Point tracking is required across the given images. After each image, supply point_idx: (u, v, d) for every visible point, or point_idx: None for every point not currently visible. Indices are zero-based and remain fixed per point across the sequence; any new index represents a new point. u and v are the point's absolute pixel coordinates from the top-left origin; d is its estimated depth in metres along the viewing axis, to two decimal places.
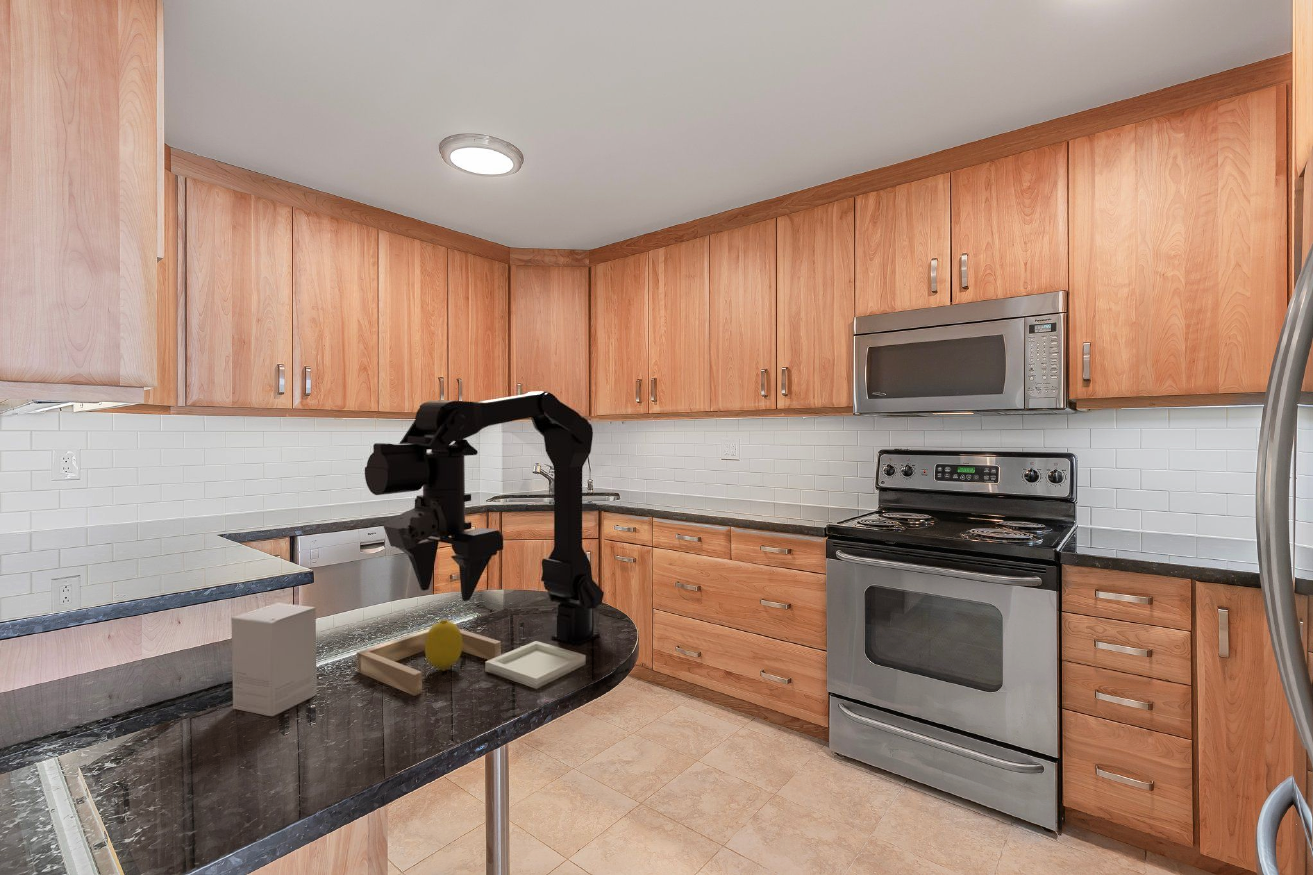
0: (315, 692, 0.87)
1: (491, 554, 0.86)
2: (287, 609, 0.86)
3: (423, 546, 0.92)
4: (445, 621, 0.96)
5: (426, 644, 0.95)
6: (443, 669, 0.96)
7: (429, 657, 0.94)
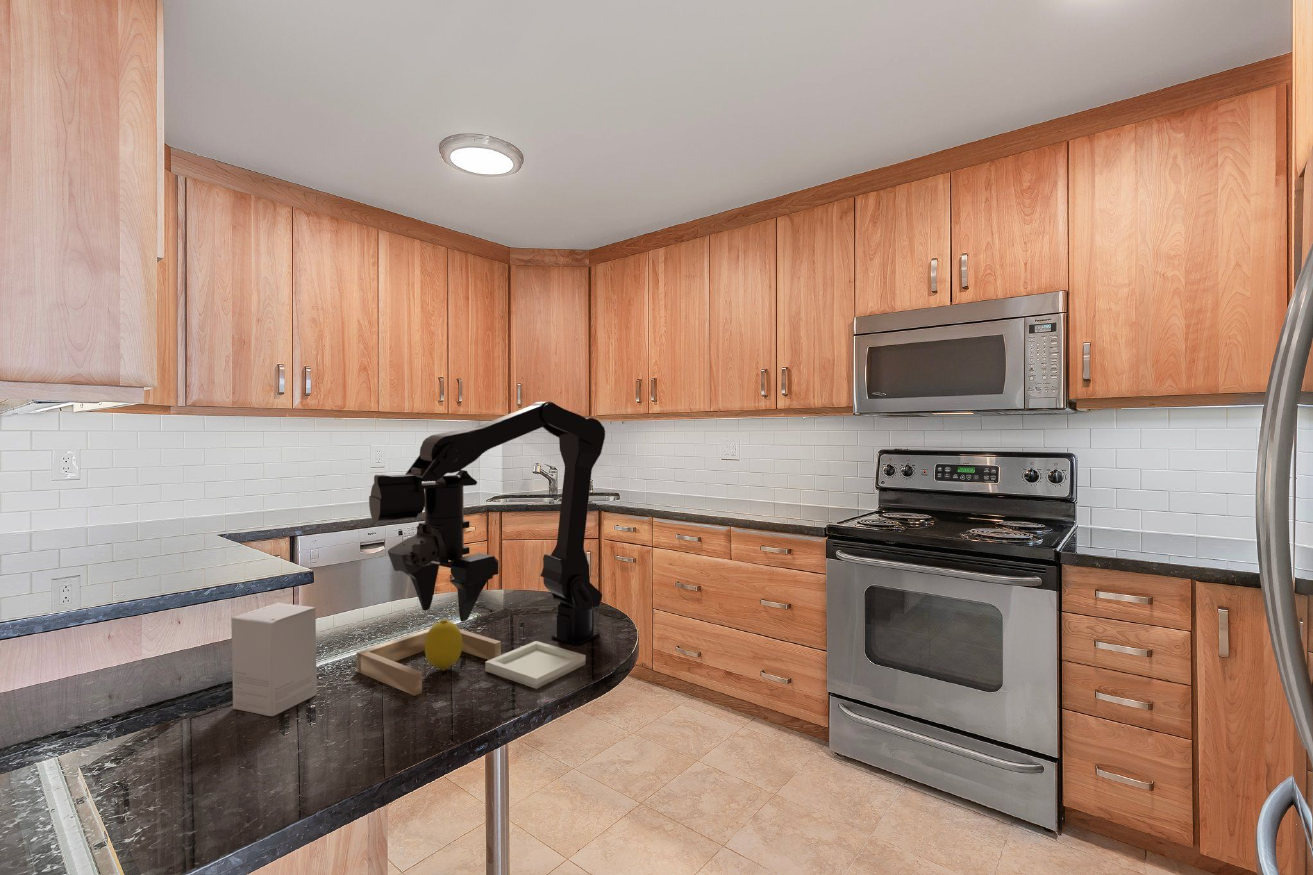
0: (315, 692, 0.87)
1: (487, 578, 0.93)
2: (287, 609, 0.86)
3: (425, 569, 0.99)
4: (445, 621, 0.96)
5: (426, 644, 0.95)
6: (443, 669, 0.96)
7: (429, 657, 0.94)
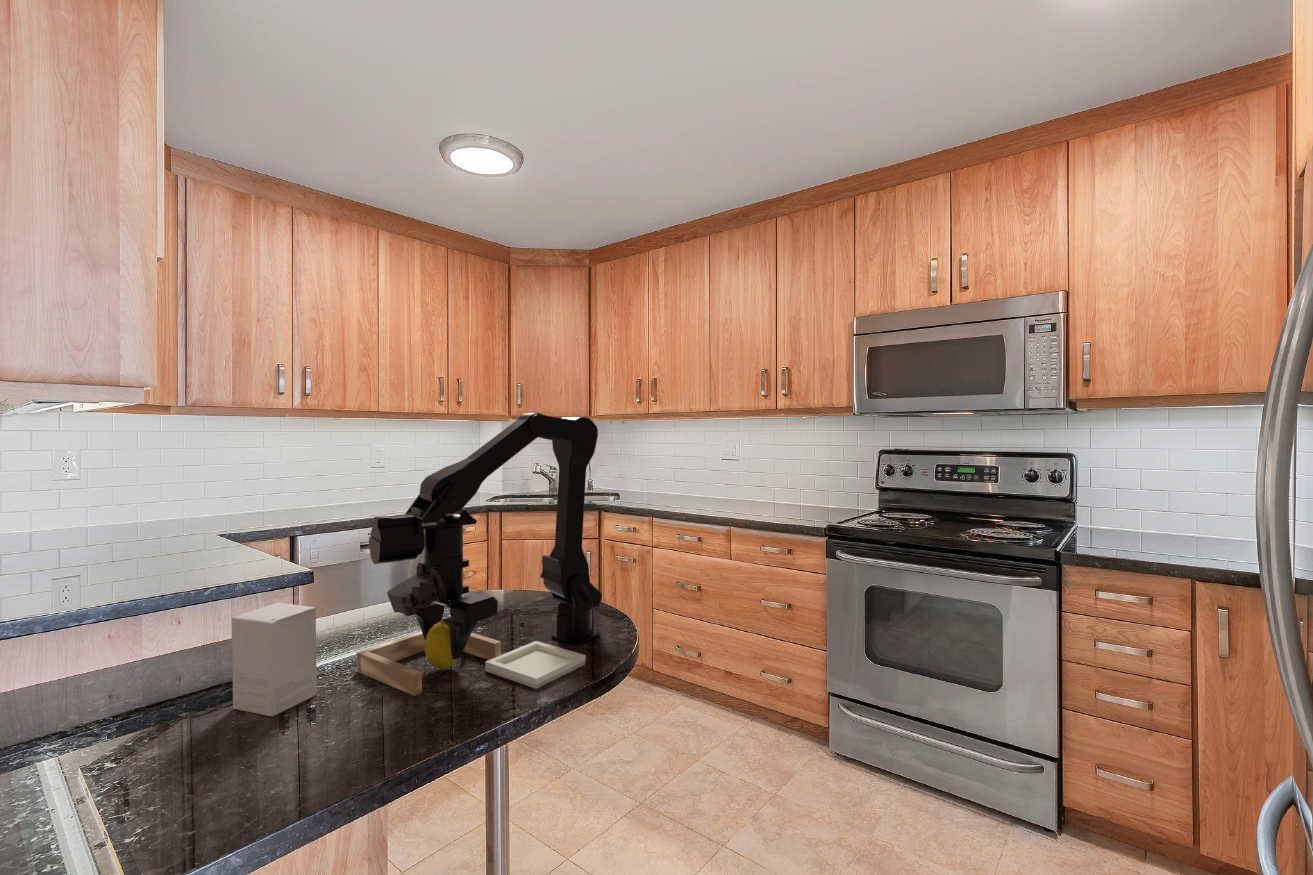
0: (315, 692, 0.87)
1: None
2: (287, 609, 0.86)
3: (430, 609, 0.98)
4: None
5: (426, 644, 0.95)
6: (443, 669, 0.96)
7: (429, 657, 0.94)
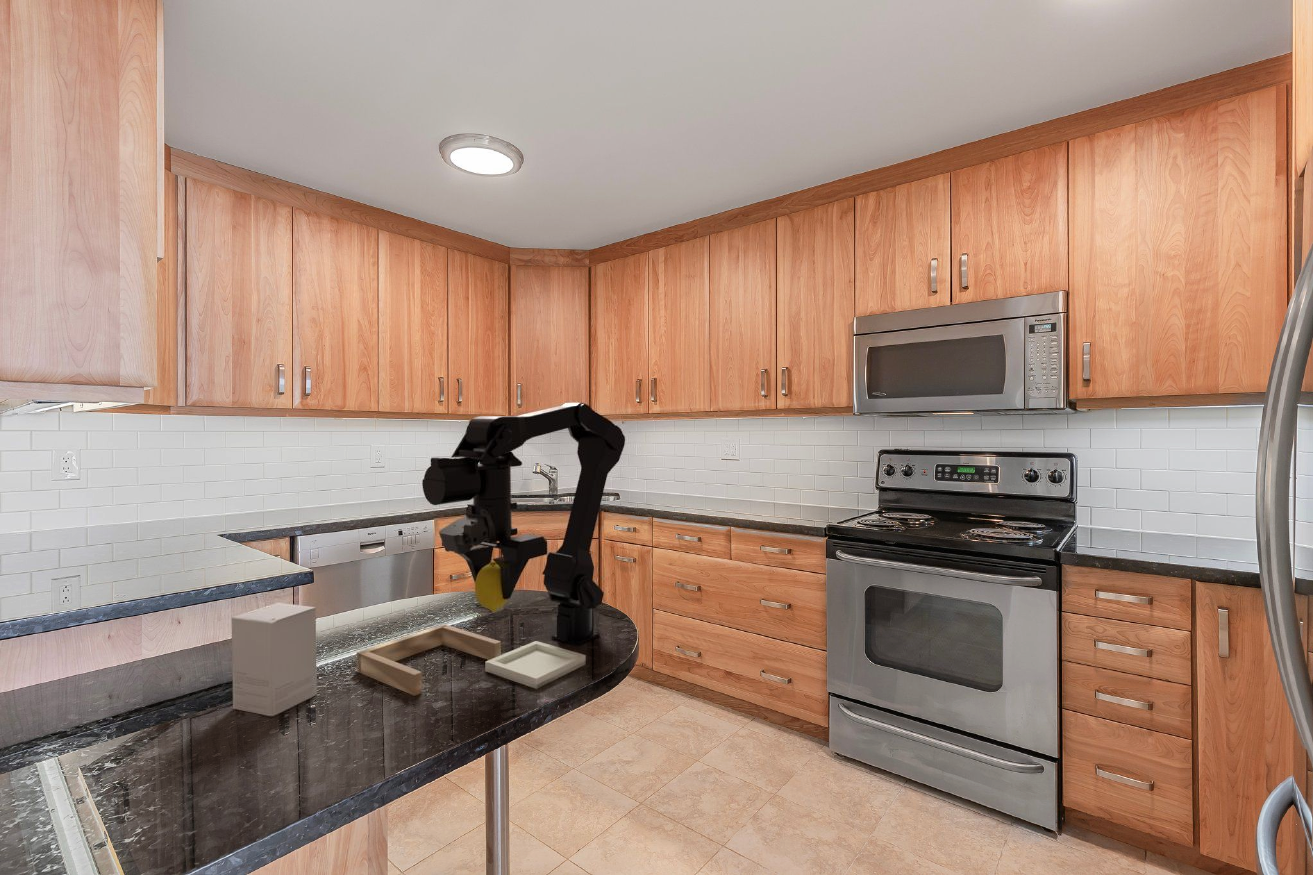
0: (315, 692, 0.87)
1: None
2: (287, 609, 0.86)
3: (479, 551, 0.99)
4: (494, 563, 0.97)
5: (476, 585, 0.95)
6: (493, 610, 0.97)
7: (479, 598, 0.95)
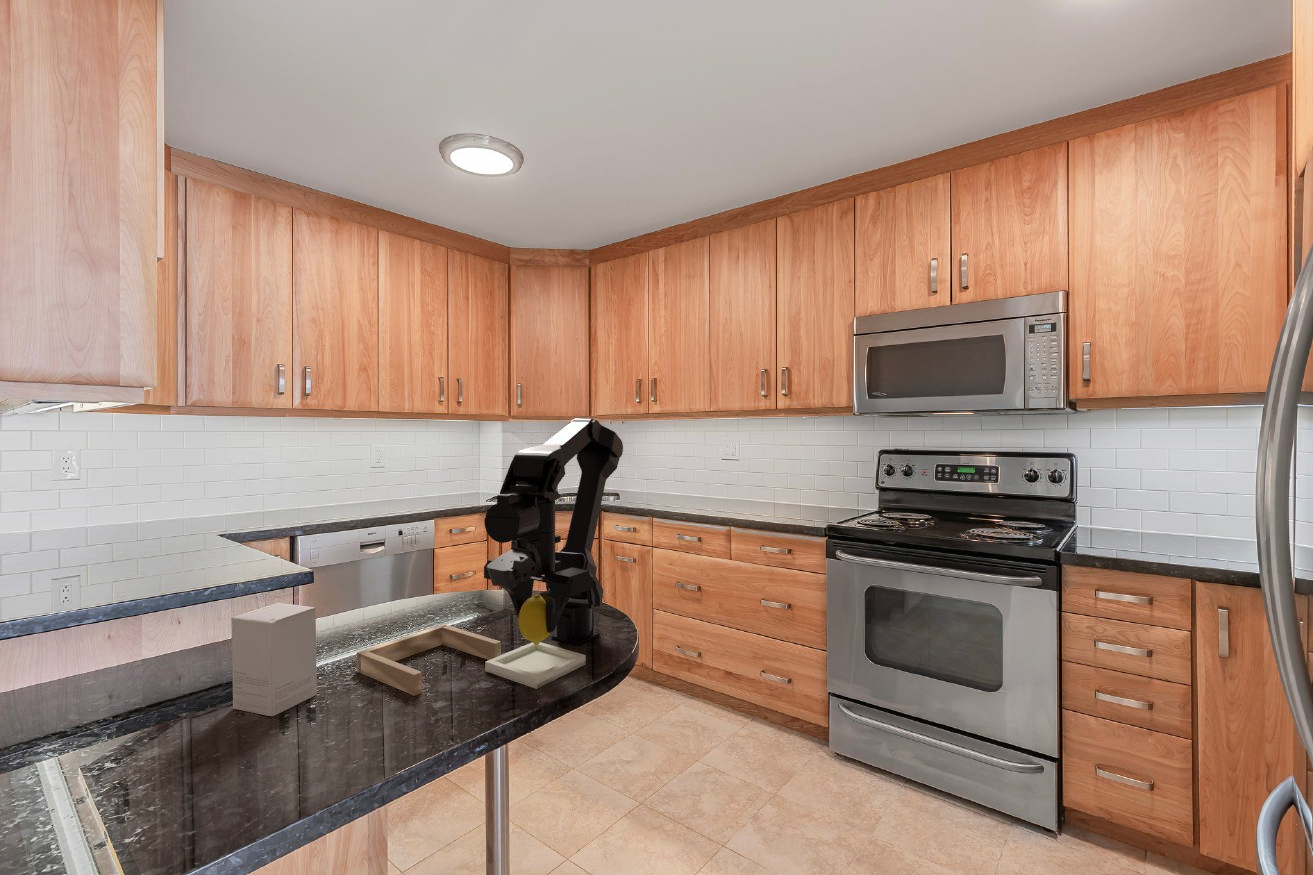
0: (315, 692, 0.87)
1: None
2: (287, 609, 0.86)
3: (522, 584, 1.00)
4: (538, 596, 0.97)
5: (520, 618, 0.96)
6: (536, 643, 0.97)
7: (524, 631, 0.96)
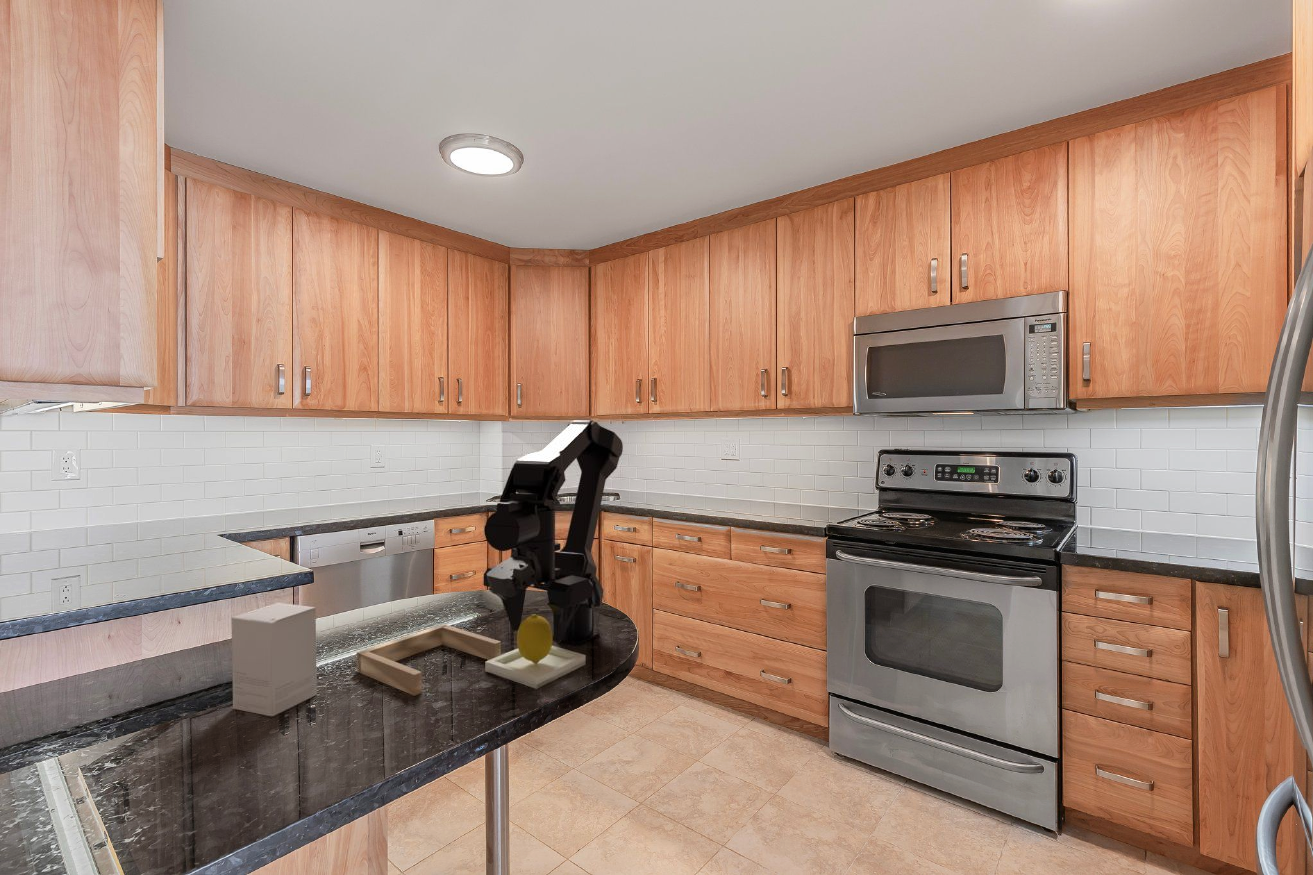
0: (315, 692, 0.87)
1: (581, 600, 0.94)
2: (287, 609, 0.86)
3: None
4: (535, 615, 0.97)
5: (519, 639, 0.96)
6: (535, 662, 0.97)
7: (522, 652, 0.95)
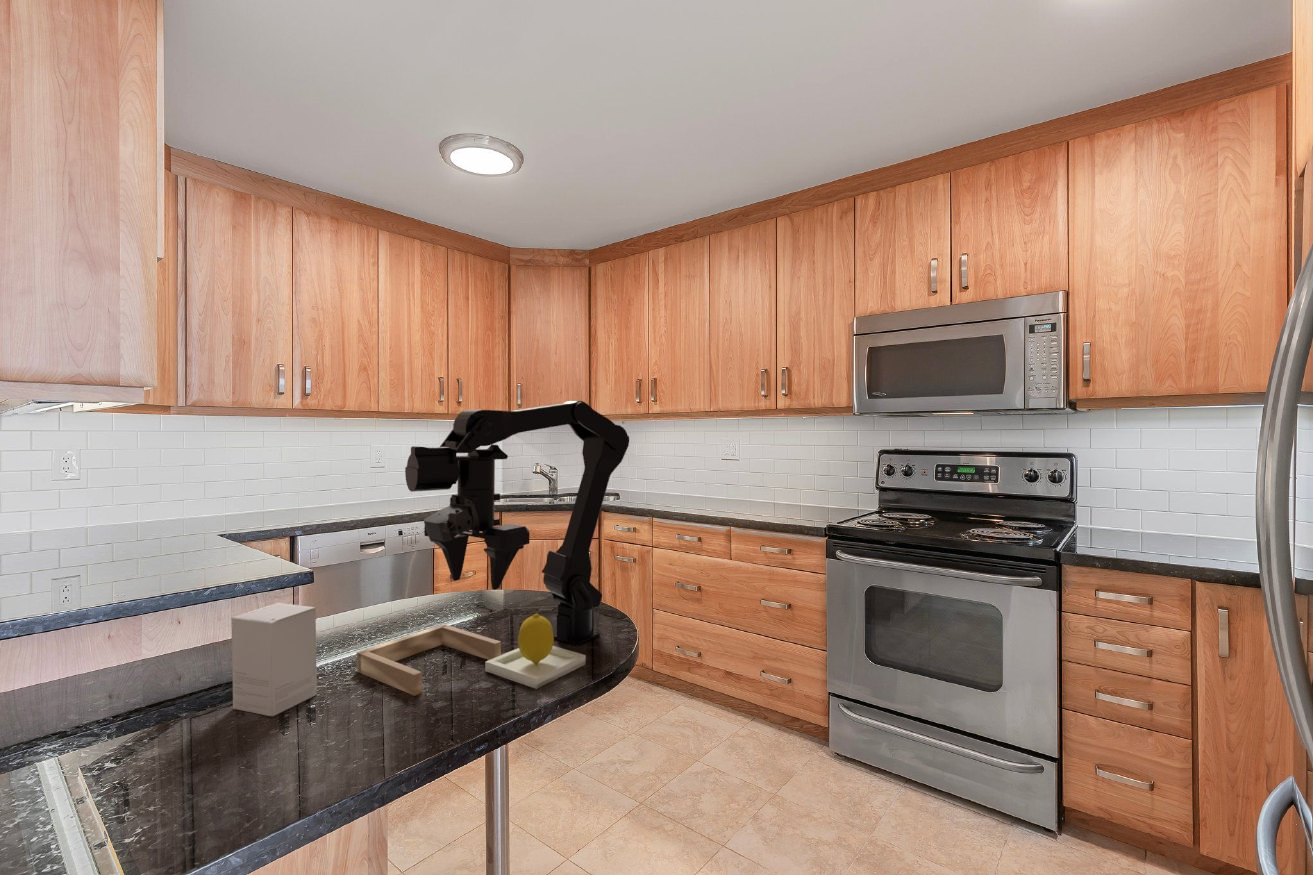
0: (315, 692, 0.87)
1: (518, 548, 0.96)
2: (287, 609, 0.86)
3: (455, 540, 1.02)
4: (537, 615, 0.97)
5: (520, 638, 0.96)
6: (536, 662, 0.97)
7: (523, 651, 0.96)
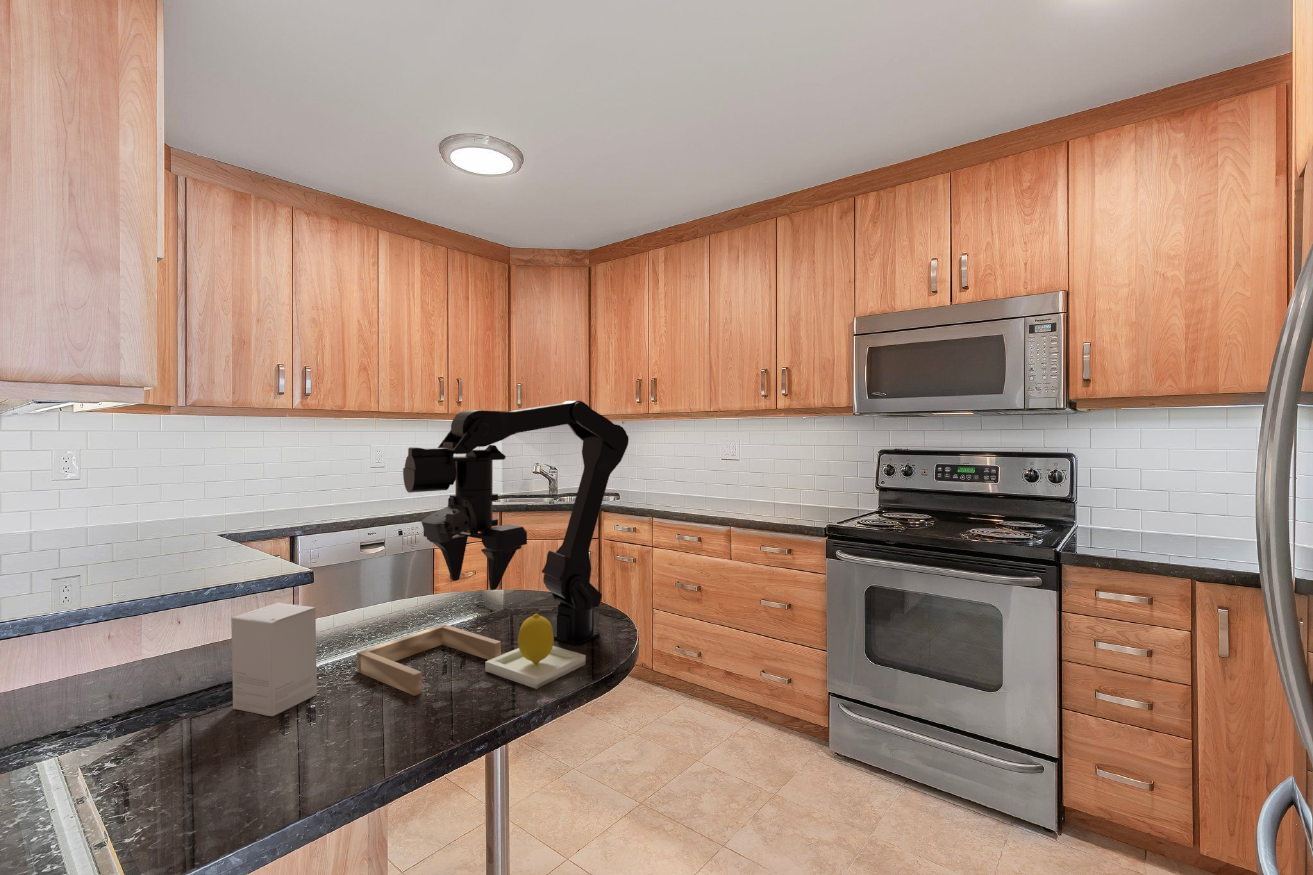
0: (315, 692, 0.87)
1: (516, 548, 0.96)
2: (287, 609, 0.86)
3: (454, 541, 1.02)
4: (537, 615, 0.97)
5: (520, 638, 0.96)
6: (536, 663, 0.97)
7: (523, 651, 0.96)
